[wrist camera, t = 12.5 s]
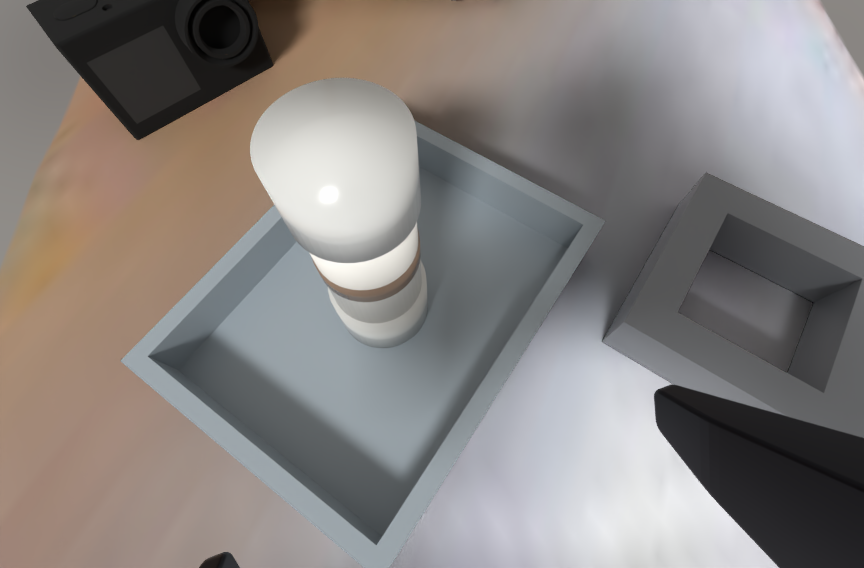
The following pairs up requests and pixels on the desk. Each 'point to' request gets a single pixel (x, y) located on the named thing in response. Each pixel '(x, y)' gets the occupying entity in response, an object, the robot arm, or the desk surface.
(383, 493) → the tray
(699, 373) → the socket block
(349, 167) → the light bulb
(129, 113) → the digital camera
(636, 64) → the desk surface
